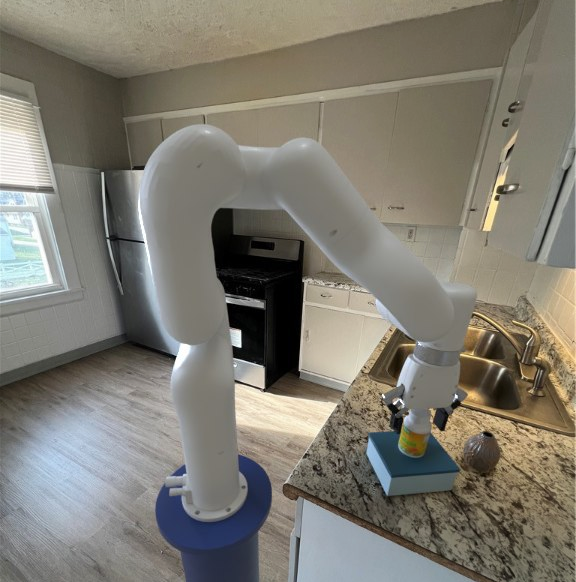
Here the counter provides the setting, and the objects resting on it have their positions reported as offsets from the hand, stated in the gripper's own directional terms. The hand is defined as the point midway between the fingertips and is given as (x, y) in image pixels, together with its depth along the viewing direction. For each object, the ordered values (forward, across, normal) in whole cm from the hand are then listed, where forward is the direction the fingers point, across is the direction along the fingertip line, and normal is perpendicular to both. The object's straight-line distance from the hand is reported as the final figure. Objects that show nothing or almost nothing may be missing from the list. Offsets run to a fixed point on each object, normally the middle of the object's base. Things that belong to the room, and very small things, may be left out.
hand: (416, 428), depth 64 cm
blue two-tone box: (+12, 0, 0) cm, 12 cm away
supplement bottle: (+6, 0, 0) cm, 6 cm away
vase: (+12, -17, 0) cm, 21 cm away
